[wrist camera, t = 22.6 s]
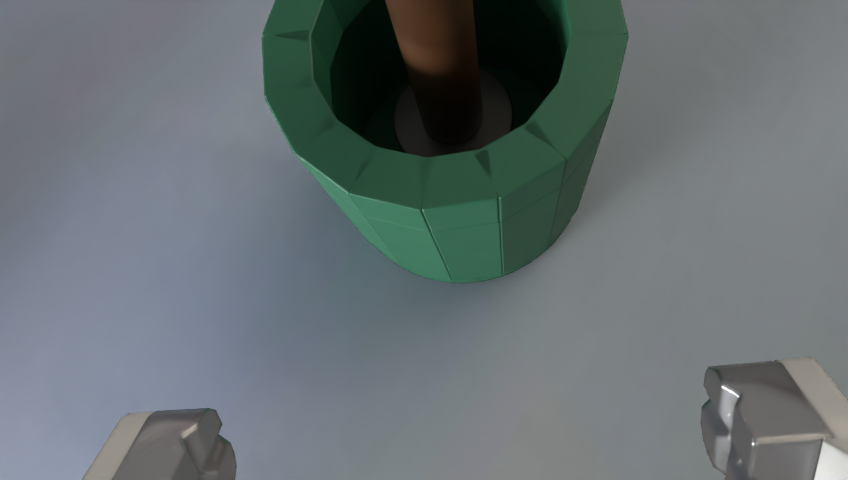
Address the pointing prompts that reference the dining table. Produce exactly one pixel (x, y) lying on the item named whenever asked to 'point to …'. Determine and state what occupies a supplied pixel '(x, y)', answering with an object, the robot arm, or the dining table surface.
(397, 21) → the brown and grey rod
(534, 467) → the dining table surface
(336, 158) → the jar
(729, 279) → the dining table surface
